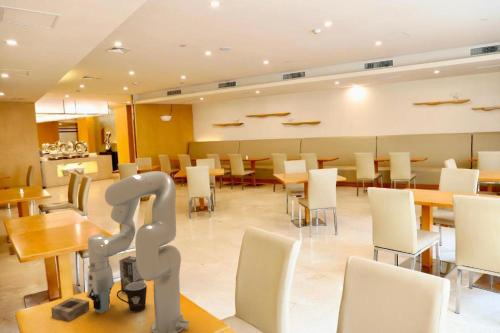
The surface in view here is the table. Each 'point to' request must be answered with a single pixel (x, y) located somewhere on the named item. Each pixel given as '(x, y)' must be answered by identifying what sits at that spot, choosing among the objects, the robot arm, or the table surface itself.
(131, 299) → the coffee mug
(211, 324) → the table surface
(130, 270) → the coffee box
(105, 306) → the peg
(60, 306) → the socket block
